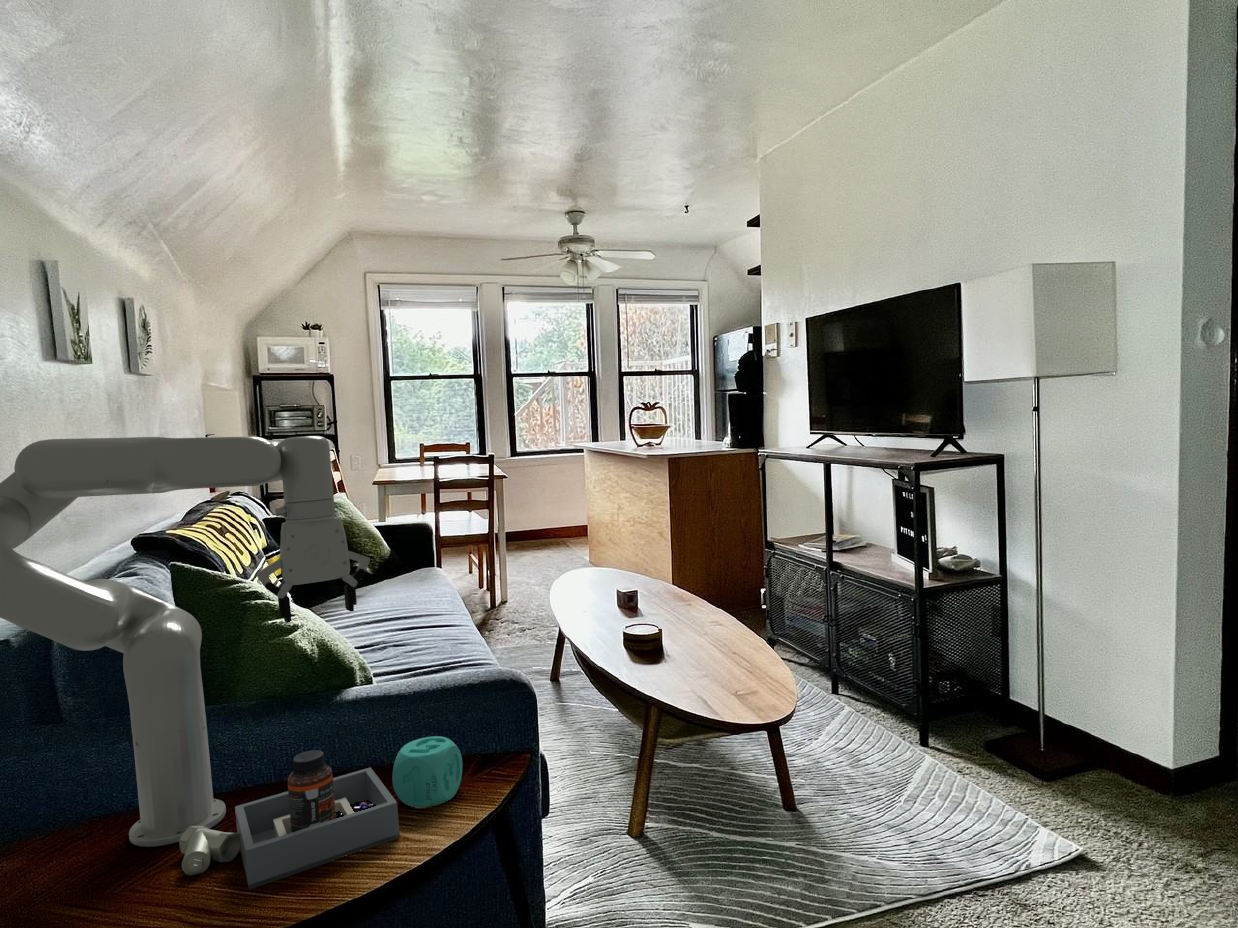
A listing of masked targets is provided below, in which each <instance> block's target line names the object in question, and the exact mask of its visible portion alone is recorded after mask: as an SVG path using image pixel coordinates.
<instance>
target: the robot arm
mask: <svg viewBox="0 0 1238 928" xmlns="http://www.w3.org/2000/svg"><path fill="white" fill-rule="evenodd" d="M279 481H281V482H282V488H283V490H282V491H283V502H284V503H283V505H282V506H280V507H276V508H274V512H275V513H274V514H275V517H282V518H284V520H285V521H284V522H282V523H281V527H280V528H281V529H280V539H279V558H278V559H276V560H275V561H273V562H272V563H270V564H269V565H267V566H265V567H264V568H263V569H260V570H259V571H258V572H256V577H257V578H258V580H259V581H260V582H261V583H260V584H262V585H263V587H264V588H265V589H266V590H267V591H268V592H270V593H272V594H273V595H274V596H276V597H277V603H278V613H279V618H283V621H284V622H285V623H291V622H292V613H291V601H290V597H289V596H288V592H289V591H290V590H291V589H292V587H293V586H296V585H297V586H298V585H305V584H312V583H319V582H325V581H331V580H337V579H341V580H342V581H343V582H344V583H345V585H344V586H343V594H344V606H345V609H346V610H347V611H348V612H354V611H355V610H354V607H355V606H356V605H357V603H358V602H357V601H358V600H357V589H356V586H357V585H358V583H359V582H360V581H361V580H362V578H364V575H366V570H367V568H368V567H369V564H370V561H371V558H370V557H369V556H366V555H362V554H360V553H357V552H354V551H351V550H349V549H348V542H347V536H346V531H345V527H344V523H343V520H342V517H339V516H336V508H335V499H334V498H335V497H334V484H333V483H334V482H333V473H332V461H331V450H330V443H329V441H328V440H327V438H326V437H324V436H320V435H306V436H293V437H292V436H291V437H287V438H284V439H283V440H278V439H277V440H275V439H274V440H273V439H272V440H271V439H266V438H264V437H260V436H214V437H213V436H212V437H163V436H136V437H135V436H134V437H100V438H99V437H98V438H97V437H92V438H88V437H87V438H85V437H84V438H49V439H43V440H42V439H41V440H39V441H38V440H37V441H35V442H32V443H30V444H29V445H27V446H25V447H24V448H23V449H22V450H21V451H20V452H19V453H18V455H17V457H16V459H15V462H14V472H13V473H11V474H10V475H9V476H8V477H6V478H5V479H3V481H1V482H0V619H3V620H5V621H8V622H9V623H12V624H14V625H16V626H18V627H20V628H23V629H25V630H27V631H30V632H33V633H35V634H38V635H40V636H42V637H44V638H47V639H50V640H51V641H53V642H57V644H60V645H63V646H65V647H67V648H69V649H73V650H76V651H84V652H85V651H95V650H99V649H102V648H104V647H106V648H109V649H111V650H115V651H116V652H119V653H122V654H123V656H122V666H123V667H122V668H123V675H124V676H123V677H124V682H125V686H126V692H127V700H128V705H129V713H130V714H129V716H130V724H131V733H132V734H131V735H132V743H133V753H134V762H135V763H134V764H135V775H136V785H137V787H136V788H137V796H138V807H139V818H140V819H139V820H138V821H136V822H134V824H133V825H132V826H131V827H130V829H129V832H128V837H129V838H128V839H129V841H130V843H131V844H133V845H135V846H137V847H144V848H152V847H153V848H155V847H161V846H167V845H172V844H177V843H179V840H180V838H181V836H182V835H183V833H184V832H185V831H186V830H187V828H188V827H189V826H204V827H208V829H212V828H213V827H215V826H216V825H218V824H219V823H220V822H221V821H222V820H223V819H224V818H225V816H226V813H227V808H226V804H225V802H224V801H223V800H221V799H219V798H218V799H217V798H214V792H213V790H214V789H213V781H212V780H213V779H212V769H211V768H212V767H211V760H210V759H211V758H210V749H209V737H208V727H207V726H208V725H207V716H206V706H205V695H204V687H203V685H204V684H203V679H202V678H203V677H202V669H201V645H202V642H203V641H202V638H203V634H202V633H203V632H202V628H201V625H200V623H199V621H198V620H197V619H196V618H195V617H194V616H193V615H192V614H191V613H189V612H188V611H186V610H184V609H182V608H180V607H178V606H175V605H173V604H171V603H169V602H167V601H165V600H162V599H160V598H158V597H156V596H153V595H152V594H149V593H147V592H145V591H142V590H139V589H137V588H135V587H133V586H131V585H130V584H129V585H128V584H126V583H124V582H120V581H117V580H114V579H109V578H95V579H88V580H82V579H79V578H77V577H74V576H71V575H68V574H67V573H64V572H61V571H59V570H57V569H55V568H53V567H52V566H49V565H47V564H44V563H42V562H40V561H37V560H33V559H31V558H28V557H26V556H24V555H22V554H20V553H19V552H17V551H16V550H14V549H16V548H18V547H19V546H20V545H22V544H23V543H25V542H27V540H29V539H30V538H32V537H33V536H34V535H35V534H36V533H37V532H38V531H40V530H41V529H42V528H44V527H45V526H46V525H47V524H48V523H49V522H51V520H53V519H55V517H57V516H58V515H59V514H60V513H62V512H63V511H64V510H66V508H68V507H69V506H70V505H71V504H73V502H74V501H76V500H77V499H78V498H84V497H85V498H87V497H103V496H123V495H124V496H125V495H127V496H128V495H129V496H130V495H147V494H162V493H167V492H168V493H169V492H173V491H180V490H194V489H195V490H196V489H215V488H235V487H258V486H263V485H265V484H268V483H269V484H270V483H273V482H279ZM350 560H353V561H355V562H358V565H357V568H356V569H355V571H353V573H352V574H350V571H351V562H350ZM279 569H280V574H281V578H282V582H281V583H280V584H279V585H278V586H277V585H276V584H275V583H273V582H272V580H271V578H270V576H271V575H272V574H274V573H276V572H277V571H278V570H279Z"/></svg>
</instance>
